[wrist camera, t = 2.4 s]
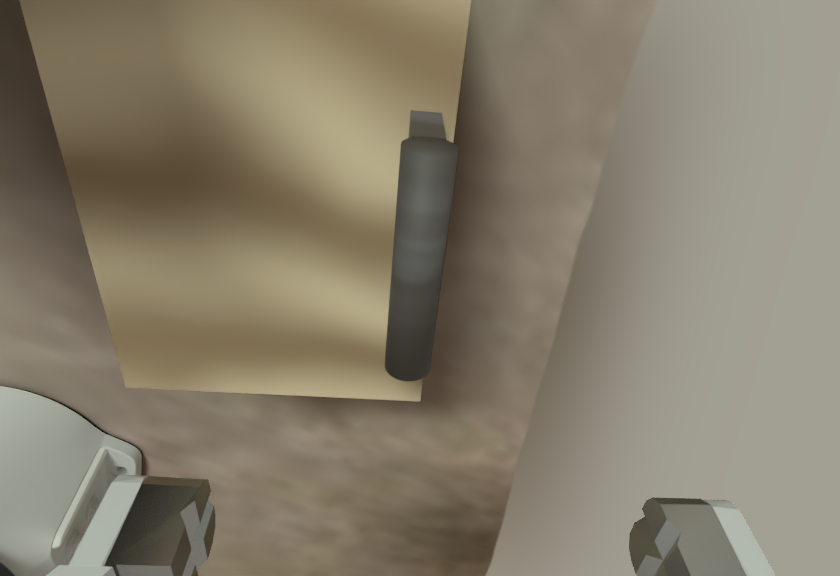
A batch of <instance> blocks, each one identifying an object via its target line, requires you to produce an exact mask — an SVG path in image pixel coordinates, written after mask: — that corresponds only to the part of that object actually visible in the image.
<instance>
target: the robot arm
mask: <svg viewBox="0 0 840 576" xmlns="http://www.w3.org/2000/svg"><path fill="white" fill-rule="evenodd" d="M141 469H142V455H141V452H140V451H139V450H138V449H137V448H136V447H134V446H132V445H130V444H128V443H126V442H124V441H122V440H119V439H117V438H115V437H112V436H110V435H107V434H105V433H103V432H102V431H100V430H99V429H97V428H96V427H94V426H93V425H92V424H91V423H89V422H88V421H87V420H85V419H84V418H83V417H81V416H80V415H78V414H77V413H75V412H74V411H72V410H70V409H69V408H67V407H65V406H63V405H61V404H59V403H57V402H55V401H52V400H50V399H48V398H45V397H43V396H40V395H37V394H34V393H31V392H27V391H23V390H19V389H15V388H9V387H3V386H0V576H198V574H197V569H198V568H199V567H200V566H201V565H202V564H203V563H204V562H205V561H206V560H208V557H209V553H210V550H211V546H212V543H213V537H214V531H215V510H214V506H213V505H212V504H211V503H209V502H208V498H209V495H210V492H211V489H210V485H209V481H208V479H190V478H173V477H155V476H141ZM642 510H643V512H644V515H645V517H644V518H642V519H640V520H639V521H637V522H635V523H634V526H633V528H632V530H631V532H630V542H629V550H630V556H631V561H632V564H633V567H634V570H635V573H636V574H637V576H776V575H775V574H774V572H773V570H772V568H771V567H770V565H769V563H768V561H767V559H766V557H765V556H764V554H763V552H762V550H761V548H760V547H759V545H758V543H757V541H756V540H755V538H754V536H753V534H752V532H751V530H750V529H749V527H748V525H747V523H746V522H745V520H744V518H743V516H742V514H741V512H740V511H739V509H738V507H737V506H735V504H733V503H732V502H731V501H726V500H701V499H685V498H651V499H649V500H647V501H646V503H645V504H644V506H643V508H642Z"/></svg>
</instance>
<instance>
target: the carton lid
mask: <svg viewBox="0 0 840 576" xmlns="http://www.w3.org/2000/svg"><path fill="white" fill-rule="evenodd" d="M19 1H20V5H21V8H22V12H23V16H24V19H25V23H26V27H27V30H28V34H29V38H30V41H31V45H32V48H33V52H34V56H35V59H36V63H37V67H38V70H39V74H40V78H41V81H42V85H43V88H44V92H45V96H46V99H47V103H48V107H49V110H50V114H51V118H52V121H53V125H54V128H55V132H56V136H57V139H58V143H59V147H60V150H61V154H62V157H63V161H64V165H65V168H66V172H67V176H68V179H69V183H70V187H71V190H72V194H73V197H74V201H75V205H76V208H77V212H78V216H79V219H80V223H81V227H82V230H83V234H84V237H85V241H86V245H87V248H88V252H89V256H90V259H91V263H92V266H93V270H94V274H95V277H96V281H97V285H98V288H99V292H100V296H101V299H102V303H103V306H104V310H105V314H106V317H107V321H108V325H109V328H110V332H111V336H112V339H113V343H114V346H115V350H116V354H117V357H118V361H119V365H120V368H121V372H122V376H123V379H124V383H125V386H126V387H128V388H149V389H170V390H191V391H211V392H232V393H253V394H274V395H295V396H316V397H336V398H357V399H378V400H399V401H420V399H421V392H422V384H423V378H424V377H425V376H426V375H427V374H428V372H429V369H430V362H431V355H432V348H433V340H434V333H435V325H436V318H437V310H438V303H439V295H440V288H441V281H442V273H443V266H444V258H445V251H446V243H447V236H448V228H449V221H450V214H451V206H452V199H453V191H454V184H455V176H456V169H457V161H458V154H459V148H458V146H457V145H455V144H454V143H453V140H454V133H455V125H456V117H457V109H458V101H459V93H460V85H461V78H462V70H463V62H464V54H465V46H466V38H467V30H468V23H469V15H470V7H471V0H19Z"/></svg>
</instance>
